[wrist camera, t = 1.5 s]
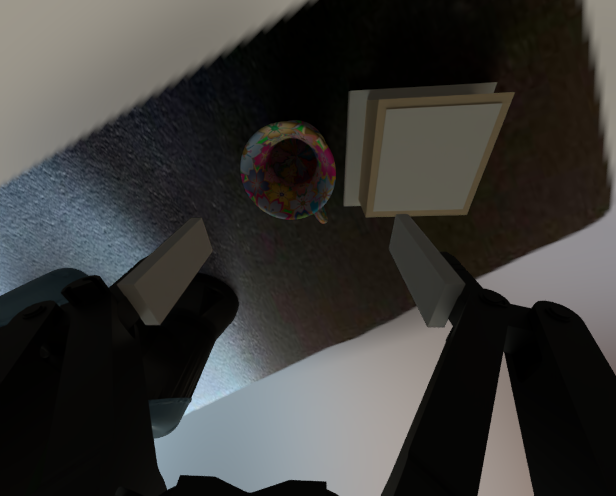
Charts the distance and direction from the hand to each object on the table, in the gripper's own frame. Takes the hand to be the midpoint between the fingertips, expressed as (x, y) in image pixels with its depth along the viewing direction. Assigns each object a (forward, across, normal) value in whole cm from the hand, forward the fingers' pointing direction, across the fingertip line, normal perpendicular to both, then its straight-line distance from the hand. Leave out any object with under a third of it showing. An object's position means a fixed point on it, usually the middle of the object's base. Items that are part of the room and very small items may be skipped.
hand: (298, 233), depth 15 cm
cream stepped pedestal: (+19, +13, +2) cm, 23 cm away
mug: (+19, -1, 0) cm, 19 cm away
